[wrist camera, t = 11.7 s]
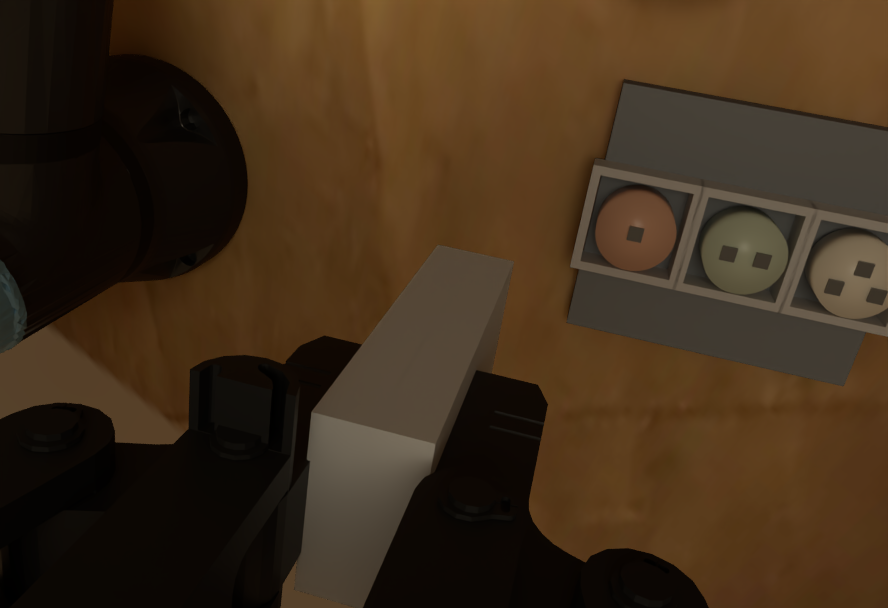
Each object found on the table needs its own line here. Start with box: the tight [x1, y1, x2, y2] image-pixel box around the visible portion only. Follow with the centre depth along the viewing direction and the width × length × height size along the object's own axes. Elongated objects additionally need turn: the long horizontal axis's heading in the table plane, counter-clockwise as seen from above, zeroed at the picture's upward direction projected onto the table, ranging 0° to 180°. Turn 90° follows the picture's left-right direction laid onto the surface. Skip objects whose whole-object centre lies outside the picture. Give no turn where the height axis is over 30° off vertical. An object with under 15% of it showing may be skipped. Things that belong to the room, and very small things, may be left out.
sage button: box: [699, 206, 788, 294], centre depth 44 cm, size 4×4×3 cm
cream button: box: [805, 228, 888, 319], centre depth 43 cm, size 4×4×3 cm
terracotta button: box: [595, 185, 676, 271], centre depth 45 cm, size 4×4×3 cm
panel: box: [567, 79, 888, 386], centre depth 45 cm, size 18×15×4 cm
